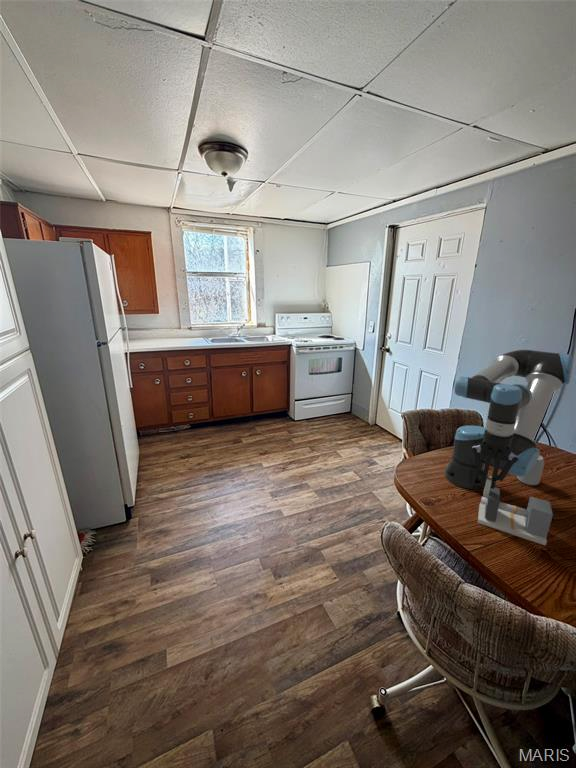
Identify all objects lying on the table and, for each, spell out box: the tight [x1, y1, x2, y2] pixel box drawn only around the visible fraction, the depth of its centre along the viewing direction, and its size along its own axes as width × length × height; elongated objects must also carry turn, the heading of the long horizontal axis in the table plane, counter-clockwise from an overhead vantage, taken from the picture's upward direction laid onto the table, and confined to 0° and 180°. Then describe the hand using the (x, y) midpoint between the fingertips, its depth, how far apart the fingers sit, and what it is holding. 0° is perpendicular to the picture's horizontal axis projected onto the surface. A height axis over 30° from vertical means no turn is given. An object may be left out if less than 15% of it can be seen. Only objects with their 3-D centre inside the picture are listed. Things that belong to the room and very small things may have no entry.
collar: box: [485, 487, 501, 521], centre depth 103 cm, size 3×8×8 cm, turn 146°
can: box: [516, 454, 546, 486], centre depth 124 cm, size 8×8×12 cm
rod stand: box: [477, 496, 554, 547], centre depth 101 cm, size 18×10×10 cm, turn 56°
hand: (485, 494), depth 104 cm, fingers closed
